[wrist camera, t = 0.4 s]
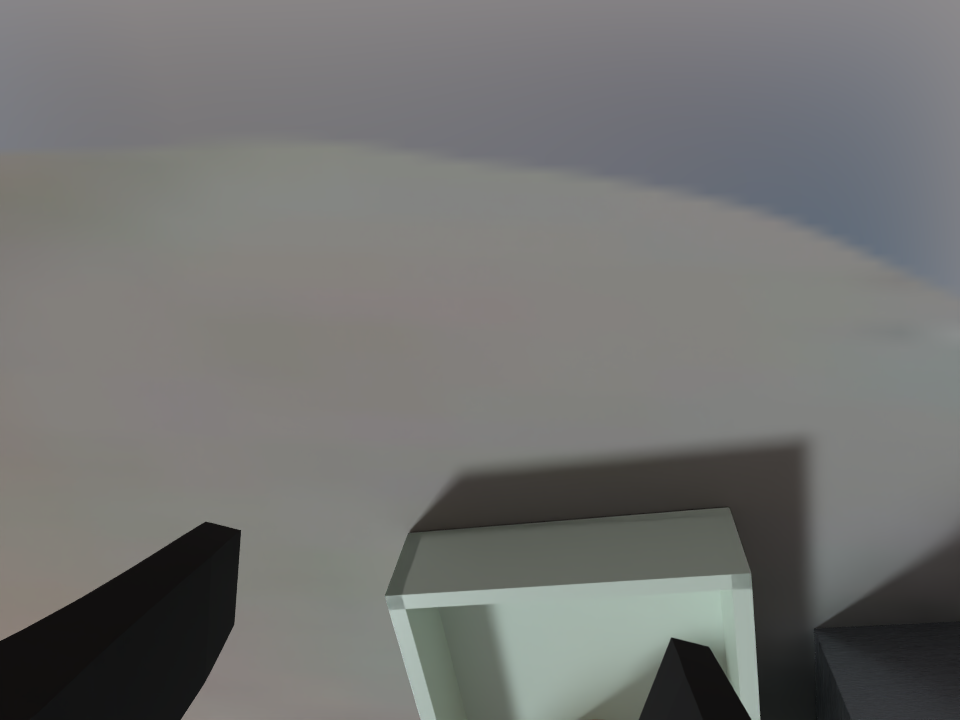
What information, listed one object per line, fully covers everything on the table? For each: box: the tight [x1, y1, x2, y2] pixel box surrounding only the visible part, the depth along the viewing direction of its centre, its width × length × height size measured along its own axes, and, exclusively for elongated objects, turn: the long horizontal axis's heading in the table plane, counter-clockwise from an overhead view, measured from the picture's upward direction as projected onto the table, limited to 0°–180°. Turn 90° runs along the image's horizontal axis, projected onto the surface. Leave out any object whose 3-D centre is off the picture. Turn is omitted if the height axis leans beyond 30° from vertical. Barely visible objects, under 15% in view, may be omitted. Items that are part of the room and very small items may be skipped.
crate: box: [385, 507, 760, 720], centre depth 23 cm, size 13×10×3 cm
